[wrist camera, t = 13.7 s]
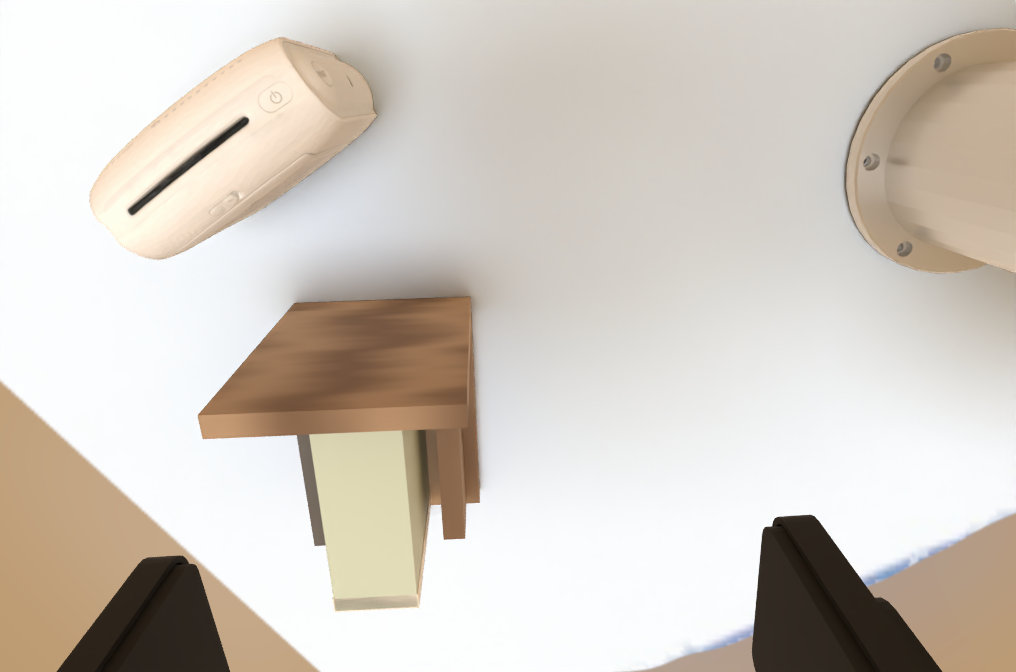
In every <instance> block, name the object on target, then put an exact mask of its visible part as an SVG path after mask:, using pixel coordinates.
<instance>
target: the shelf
mask: <svg viewBox="0 0 1016 672" xmlns="http://www.w3.org/2000/svg"><path fill="white" fill-rule="evenodd" d="M198 420H199V424H200V429H201V433H202V438H203V439H215V438H238V437H262V436H285V435H297V439H298V445H299V452H300V458H301V464H302V470H303V476H304V482H305V489H306V495H307V501H308V507H309V513H310V519H311V526H312V532H313V538H314V544H315V546H321V545H326V544H325V537H324V530H323V524H322V517H321V510H320V504H319V497H318V490H317V484H316V477H315V470H314V464H313V457H312V450H311V444H310V437H309V434H332V433H355V432H378V431H402V430H426V443H427V456H428V470H429V483H430V488H431V505H441V508H442V522H443V535H444V540H445V539H465V527H466V503H480V489H479V468H478V446H477V425H476V404H475V383H474V362H473V341H472V319H471V298H470V297H450V298H422V299H394V300H367V301H339V302H311V303H294V304H293V305H292V307H291V308H290V309H289V310H288V311H287V312H286V314H285V315H284V316H283V317H282V318H281V319H280V320H279V322H278V323H277V324H276V325H275V326H274V327H273V329H272V330H271V331H270V332H269V333H268V334H267V336H266V337H265V338H264V339H263V340H262V341H261V343H260V344H259V345H258V346H257V347H256V348H255V349H254V351H253V352H252V353H251V354H250V355H249V356H248V358H247V359H246V360H245V361H244V362H243V363H242V365H241V366H240V367H239V368H238V369H237V370H236V372H235V373H234V374H233V375H232V376H231V377H230V378H229V380H228V381H227V382H226V383H225V384H224V385H223V387H222V388H221V389H220V390H219V391H218V392H217V394H216V395H215V396H214V397H213V398H212V399H211V401H210V402H209V403H208V404H207V405H206V406H205V407H204V409H203V410H202V411H201V412H200V413H199V414H198Z"/></svg>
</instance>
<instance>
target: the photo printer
mask: <svg viewBox="0 0 1016 672" xmlns="http://www.w3.org/2000/svg"><path fill="white" fill-rule="evenodd" d="M376 117H377V114H376V113H375V111H374V110H373V98H372V93H371V90H370V88H369V85H368V83H367V82H366V80H365V79H364V77H363V76H362V75H361V74H360V73H359V72H358V71H357V70H356V69H355V68H353V67H352V66H350V65H348V64H346V63H343V62H340V61H338V60H337V58H336V56H335V55H334V54H333V53H331V52H328V51H326V50H322V49H320V48H316V47H313V46H310V45H307V44H303V43H301V42H297V41H294V40H290V39H287V38H284V37H279V38H276V39H273V40H270V41H268V42H265V43H263V44H261V45H259V46H257V47H254V48H252V49H251V50H249V51H247V52H245V53H243V54H242V55H240V56H239V57H237V58H236V59H234V60H233V61H231V62H230V63H228V64H227V65H225V66H224V67H222V68H221V69H220V70H218V71H217V72H215V73H214V74H212V75H211V76H210V77H208V78H207V79H206V80H204V81H203V82H201V83H200V84H199V85H197V86H196V87H195V88H194V89H192V90H191V91H190V92H188V93H187V94H186V95H184V96H183V97H182V98H181V99H179V100H178V101H177V102H176V103H174V104H173V105H172V106H171V107H169V108H168V109H167V110H166V111H165V112H163V113H162V114H161V115H160V116H159V117H157V118H156V119H155V120H154V121H153V122H151V123H150V124H149V125H148V126H147V127H146V128H145V129H143V130H142V131H141V132H140V133H139V134H138V135H137V136H136V137H135V138H133V139H132V140H131V141H130V142H129V143H128V144H127V145H126V146H125V147H124V148H123V149H122V150H121V151H120V152H119V153H118V154H117V155H116V156H115V157H114V158H113V159H112V160H111V161H110V162H109V163H108V164H107V166H106V167H105V168H104V170H103V171H102V172H101V174H100V175H99V177H98V178H97V180H96V182H95V183H94V185H93V187H92V189H91V191H90V206H91V208H92V211H93V213H94V215H95V217H96V219H97V220H98V221H99V222H100V223H102V224H103V225H104V226H106V228H107V229H108V230H109V231H110V232H111V233H112V234H113V235H114V237H115V239H116V240H117V242H118V243H119V244H120V245H121V246H123V247H124V248H126V249H127V250H129V251H131V252H133V253H135V254H137V255H139V256H142V257H145V258H149V259H157V260H161V259H166V258H169V257H172V256H174V255H177V254H179V253H181V252H184V251H186V250H188V249H190V248H192V247H194V246H195V245H197V244H199V243H200V242H202V241H204V240H206V239H208V238H210V237H211V236H213V235H214V234H216V233H218V232H220V231H222V230H224V229H226V228H227V227H229V226H231V225H233V224H235V223H237V222H239V221H241V220H243V219H245V218H247V217H249V216H250V215H252V214H254V213H256V212H258V211H259V210H261V209H263V208H265V207H266V206H267V205H268V204H270V203H271V202H273V201H274V200H276V199H277V198H279V197H280V196H281V195H283V194H284V193H286V192H287V191H288V190H290V189H291V188H293V187H294V186H295V185H297V184H298V183H299V182H301V181H302V180H303V179H305V178H306V177H307V176H309V175H310V174H311V173H313V172H314V171H315V170H317V169H318V168H319V167H321V166H322V165H323V164H325V163H326V162H327V161H328V160H330V159H331V158H332V157H334V156H335V155H336V154H337V153H339V152H340V151H341V150H342V149H344V148H345V147H346V146H347V145H349V144H350V143H351V142H352V141H353V140H355V139H356V138H357V137H358V136H359V135H360V134H362V133H363V132H364V131H365V130H366V129H367V127H368V126H369V125H370V124H371V123H372V122H373V120H374V119H375V118H376Z"/></svg>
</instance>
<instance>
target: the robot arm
mask: <svg viewBox="0 0 1016 672" xmlns="http://www.w3.org/2000/svg"><path fill="white" fill-rule="evenodd" d="M934 63H935V64H934ZM865 158H866V162H865V163H864V164H863V162H864V160H865ZM846 189H847V195H848V201H849V207H850V211H851V213H852V216H853V218H854V220H855V223H856V225H857V228H858V229H859V231H860V232H861V233H862V235H863V236H864V238H865V239H866V240H867V242H868V243H869V244H870V245H871V246H872V247H873V248H875V249H876V250H877V251H878V252H879V253H880V254H881V255H883V256H885V257H887V258H889V259H890V260H892V261H894V262H896V263H898V264H901V265H903V266H906V267H909V268H912V269H914V270H917V271H924V272H930V273H957V272H962V271H966V270H971V269H976V268H979V267H981V266H984V265H986V264H990V265H993V266H996V267H999V268H1002V269H1005V270H1008V271H1011V272H1014V273H1016V29H1007V28H997V29H987V30H978V31H973V32H969V33H965V34H960V35H956V36H953V37H951V38H948V39H946V40H944V41H942V42H939V43H937V44H935V45H932V46H931V47H929V48H927V49H926V50H924V51H923V52H921V53H920V54H918V55H917V56H915V57H914V58H912V59H911V60H909V61H908V62H907V63H906V64H905V65H904V66H903V67H902V68H900V69H899V70H898V71H897V72H896V73H895V74H894V75H893V76H892V77H891V78H890V79H889V80H888V81H887V82H886V84H885V85H884V86H883V87H882V88H881V90H880V91H879V92H878V93H877V95H876V96H875V97H874V98H873V100H872V102H871V104H870V105H869V107H868V109H867V110H866V112H865V114H864V116H863V117H862V119H861V121H860V123H859V126H858V128H857V131H856V134H855V136H854V139H853V141H852V144H851V149H850V154H849V159H848V164H847V183H846ZM752 656H753V662H754V667H755V671H756V672H942V671H941V669H940V668H939V667H938V665H937V664H936V663H935V661H934V660H933V659H932V657H931V656H930V655H929V653H928V652H927V651H926V650H925V648H924V647H923V645H922V644H921V643H920V641H919V640H918V639H917V638H916V636H915V635H914V633H913V632H912V631H911V629H910V628H909V627H908V625H907V624H906V623H905V621H904V620H903V619H902V617H901V616H900V615H899V613H898V612H897V611H896V609H895V608H894V607H893V606H892V605H891V604H890V603H889V602H888V601H886V600H884V599H883V598H874V596H873V595H872V594H871V592H870V591H869V589H868V588H867V587H866V585H865V584H864V583H863V581H862V580H861V578H860V577H859V576H858V574H857V573H856V572H855V570H854V569H853V567H852V566H851V565H850V563H849V562H848V561H847V559H846V558H845V556H844V555H843V554H842V552H841V551H840V550H839V548H838V547H837V545H836V544H835V543H834V541H833V540H832V539H831V537H830V536H829V534H828V533H827V532H826V530H825V529H824V528H823V526H822V525H821V523H820V522H819V521H818V520H817V519H816V517H815V516H812V515H800V516H785V517H777V518H775V519H774V521H773V525H772V527H765V528H764V529H763V533H762V543H761V554H760V565H759V576H758V588H757V599H756V610H755V622H754V633H753V645H752ZM57 672H230V670H229V667H228V664H227V660H226V657H225V654H224V651H223V647H222V644H221V641H220V638H219V635H218V632H217V628H216V625H215V622H214V619H213V615H212V612H211V609H210V606H209V602H208V599H207V596H206V593H205V590H204V586H203V583H202V580H201V577H200V573H199V570H198V568H197V566H196V565H194V564H189V563H188V561H187V559H186V558H185V557H184V556H165V557H150V558H146V559H143V560H142V561H141V562H140V563H139V564H138V566H137V567H136V568H135V569H134V571H133V572H132V573H131V575H130V576H129V577H128V578H127V580H126V581H125V583H124V584H123V585H122V587H121V588H120V589H119V590H118V592H117V593H116V594H115V596H114V597H113V598H112V600H111V601H110V602H109V604H108V605H107V606H106V607H105V609H104V610H103V612H102V613H101V614H100V615H99V617H98V618H97V619H96V621H95V622H94V623H93V625H92V626H91V627H90V629H89V630H88V631H87V632H86V634H85V635H84V636H83V638H82V639H81V640H80V642H79V643H78V644H77V646H76V647H75V648H74V650H73V651H72V652H71V653H70V655H69V656H68V657H67V659H66V660H65V661H64V663H63V664H62V665H61V667H60V668H59V669H58V671H57Z"/></svg>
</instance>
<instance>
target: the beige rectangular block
mask: <svg viewBox="0 0 1016 672" xmlns="http://www.w3.org/2000/svg"><path fill="white" fill-rule="evenodd" d="M309 437H310V444H311V450H312V457H313V464H314V470H315V477H316V484H317V490H318V497H319V504H320V510H321V517H322V524H323V530H324V537H325V544H326V551H327V557H328V564H329V571H330V577H331V584H332V591H333V604H334V611H335V612H342V611H362V610H383V609H403V608H419V604H420V595H421V586H422V578H423V569H424V560H425V551H426V542H427V534H428V525H429V516H430V507H431V488H430V483H429V470H428V456H427V443H426V430H402V431H378V432H355V433H332V434H309Z"/></svg>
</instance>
